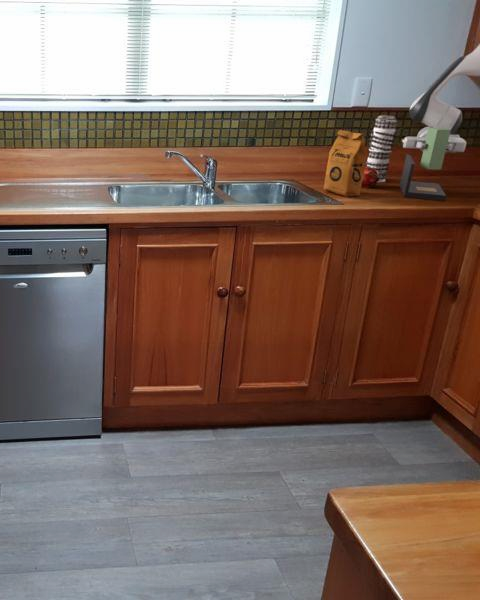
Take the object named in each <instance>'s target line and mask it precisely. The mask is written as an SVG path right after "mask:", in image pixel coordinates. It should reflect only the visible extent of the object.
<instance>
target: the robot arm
mask: <svg viewBox="0 0 480 600" xmlns="http://www.w3.org/2000/svg"><path fill="white" fill-rule="evenodd" d="M460 76H468V77H480V43H478V45H477V47H476V48H475V49H474V50H473V51H472V52H470V53H469V54H467V55H461V56H459V57H458V58H457V59H456V60H454V61H453V62H452V63H451V64H450V65H449V66H448V67H447V68H446V69H445V70H444V71H443V72H442V73H441V74H440V75H439V76H438V78H437V79H435V80H434V82H433V83H432V84H431V85H429V87H428V88H427V89H425V91H424V92H423V93H422V94H421V95H419V96H418V97H417V98H415V100H414V101H413V102H412V103H411V105H410V108H409V110H408V111H409V116H410V118H411V120H413V121H415V122H418V123H422V124H423V125H426V126H425V127H423V128H421V129H420V131H418V133H417V135H416V136H405V137H404V138H403V139H401V142H402V148H403V149H410V150H411V149H412V150H420V151H421V152H422V153H423V151H424V149H425V146H426V143H425V142H426V138H427V134H428V130H429V128H445V129H450V130H451V131H450V135H449V139H448V143H447V147H446V151H445V154H446V153H449V154H452V153H453V154H454V153H464V152H465V150H466V147H467V141H466V140H465V139H464V138H462V137H460V136H461V135H460V134H456V132H457V130H458V129H459V128H460V126H461V125H462V122H463V112H462V110H461V109H459V108H457V107H455V106H453V105H451V104H449V103H447V102H444V101H443V100H440V99H438V97H437V95H438V94H439V93H440V92H441V91H442V90H443V89H444V88H445V87H446V86H447V85H448V84H449V83H450V82H451V81H452V80H453V79H455V78H456V77H460Z"/></svg>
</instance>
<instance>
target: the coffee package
mask: <svg viewBox="0 0 480 600" xmlns="http://www.w3.org/2000/svg"><path fill="white" fill-rule="evenodd" d="M366 157H367V156H366V145H365V135H364V133H359V132H352V131H347V130H343V129H340V130H338V131H337V137H336V139H335V141H334V142H333V145H332V146H331V148H330V150H329V152H328V160H327V165H326V172H325V178H324V184H323V187H322V189H323V190H324V191H327V192H331V193H333V194H336V195H339V196H343V197H345V198H348V197H349V198H350V197H351V198H352V197H359V196H360V195H361V193H360V192H361V189H362V185H361V184H362V181H363V177H364V168H365V166H366Z"/></svg>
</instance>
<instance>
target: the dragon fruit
mask: <svg viewBox="0 0 480 600" xmlns="http://www.w3.org/2000/svg"><path fill="white" fill-rule="evenodd" d="M379 179H380V178H379V175H377V172H376V170H374V169H372V168H371V167H370V166H367V167H366V165H365V168H364V177H363V181H362V184H361V187H363V188H366V189H368V188H371V186H376V185H377V184H378V182H377V181H379Z"/></svg>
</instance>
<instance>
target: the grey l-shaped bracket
mask: <svg viewBox="0 0 480 600" xmlns="http://www.w3.org/2000/svg"><path fill="white" fill-rule="evenodd" d="M403 164H404V165H403V169H402V174H401V178H400V183H399V187H400V190H401V193H402V192H403V193H402V195H404V196H403V198H407V197H410V198H409V199H417V198H421V200H429V201H439V202H446V198H447V195H446V193H445V192H444V190H443V189H442V187H441V185H440V184H439V183H436V182H425V181H424V182H423V181H413V180H412V178H413V173H414V168H415V162H414V160H413V158H412V156H411V155H410V154H406V156H405V160H404V163H403Z"/></svg>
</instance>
